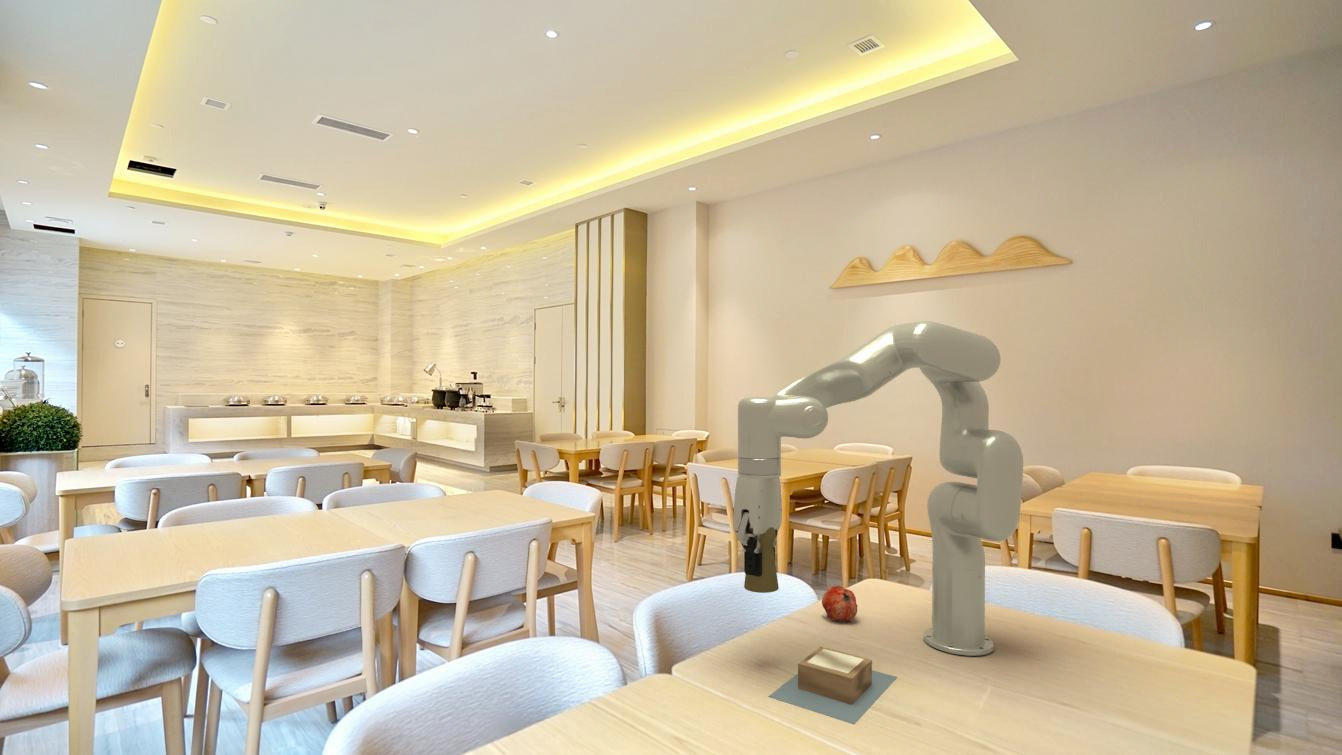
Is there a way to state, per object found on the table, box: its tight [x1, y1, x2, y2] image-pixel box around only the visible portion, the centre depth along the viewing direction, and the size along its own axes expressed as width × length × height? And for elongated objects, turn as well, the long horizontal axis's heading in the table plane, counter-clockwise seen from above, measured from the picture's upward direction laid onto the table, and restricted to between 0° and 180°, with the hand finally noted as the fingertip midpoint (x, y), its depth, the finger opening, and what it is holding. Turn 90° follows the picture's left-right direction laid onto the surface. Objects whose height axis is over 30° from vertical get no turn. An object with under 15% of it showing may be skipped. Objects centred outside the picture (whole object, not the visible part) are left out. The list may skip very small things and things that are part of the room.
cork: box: [743, 527, 779, 594], centre depth 115 cm, size 6×6×11 cm
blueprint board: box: [767, 669, 898, 725], centre depth 107 cm, size 20×14×1 cm
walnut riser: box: [797, 646, 873, 705], centre depth 107 cm, size 9×9×4 cm
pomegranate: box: [821, 585, 858, 622], centre depth 143 cm, size 7×7×10 cm
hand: (759, 570), depth 115 cm, fingers closed on cork, 4 cm apart
